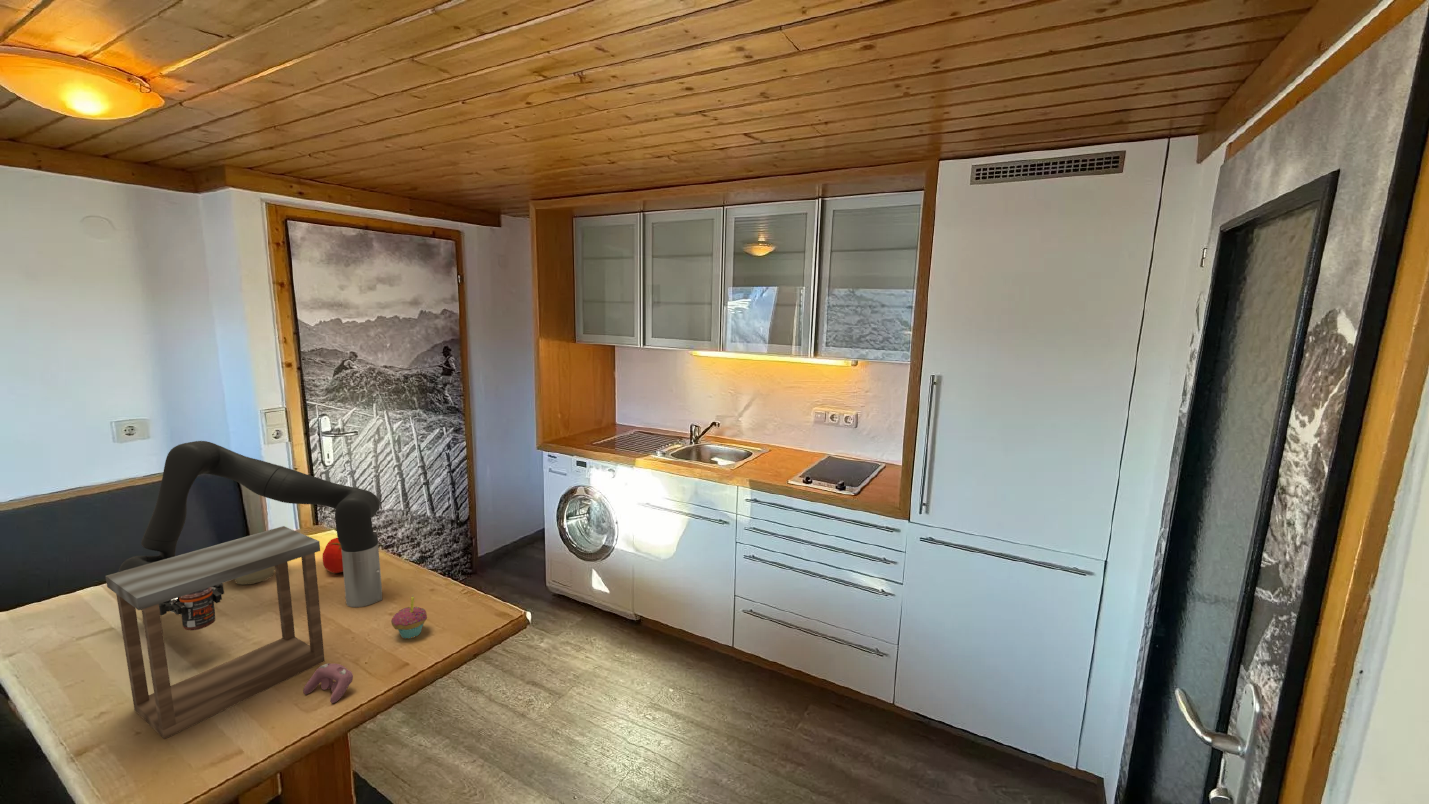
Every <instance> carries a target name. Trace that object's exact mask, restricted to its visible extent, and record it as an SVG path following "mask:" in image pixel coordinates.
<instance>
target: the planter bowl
mask: <svg viewBox="0 0 1429 804" xmlns="http://www.w3.org/2000/svg"><path fill="white" fill-rule="evenodd" d="M273 576H275V566H273V567H270V568H267V569H264V570H261V571H257V572H254V573H251V574H248V575H245V576H242V577H239V578H236V579H234V581H235V583H236V584H238V585H253V584H258V583H261V582H265V581H266V580H268V579H270V578H272V577H273Z"/></svg>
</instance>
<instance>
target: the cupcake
mask: <svg viewBox="0 0 1429 804" xmlns="http://www.w3.org/2000/svg"><path fill="white" fill-rule="evenodd" d="M414 602H415V597H414V595H412V596H411V597H410V606H408V607H405V608H402V609H400V610H399V611H397V612H395V614H394V615H393V617H392V618H391V621H390V623H391V626H392V628H394V629H395V630H397V631H398V633H399V635H400V636H401V638H403V639H406V638H408V639H412V638H411V637H413V638H415V637H414V636H416V637H418V636H419V635H420V634H421V632H422V628H423V626H424V624H425V622H426V620H428V614H427V611H426V609H424V608H423V607H419V606H415V605H414V604H415V603H414Z"/></svg>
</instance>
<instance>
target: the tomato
mask: <svg viewBox="0 0 1429 804" xmlns="http://www.w3.org/2000/svg"><path fill="white" fill-rule="evenodd" d="M322 564H323V566H324V569H326V570H327V571H328V572H329V573H334V574H339V573H340V574H341V573H343V561H342V550H341V544H340V542H339V540H338V537H334V538H332V539H330V540H329V541H328V542H327V544H326V545H325V547H324V550H323V552H322Z"/></svg>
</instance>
